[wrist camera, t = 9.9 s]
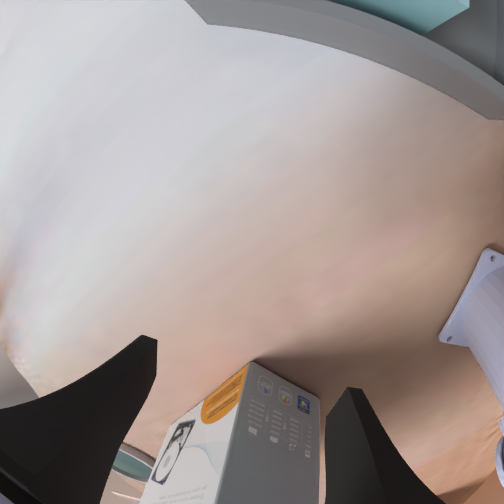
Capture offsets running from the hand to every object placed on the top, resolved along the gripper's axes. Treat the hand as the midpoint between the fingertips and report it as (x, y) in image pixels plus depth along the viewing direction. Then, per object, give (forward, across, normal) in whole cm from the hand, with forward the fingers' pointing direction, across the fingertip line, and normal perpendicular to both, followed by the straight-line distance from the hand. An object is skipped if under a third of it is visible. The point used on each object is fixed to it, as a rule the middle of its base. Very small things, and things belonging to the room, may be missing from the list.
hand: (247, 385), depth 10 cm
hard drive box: (+10, -1, +16) cm, 19 cm away
